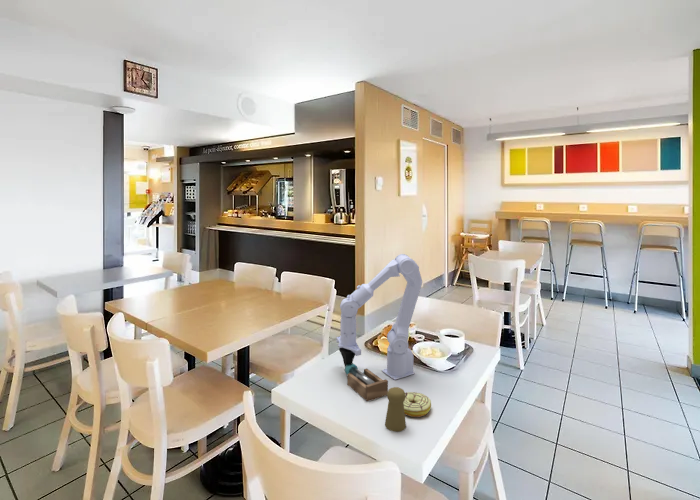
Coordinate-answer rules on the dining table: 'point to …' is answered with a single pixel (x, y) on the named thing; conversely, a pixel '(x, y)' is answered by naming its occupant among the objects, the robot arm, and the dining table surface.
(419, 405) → the decorated donut
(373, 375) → the housing
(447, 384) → the dining table surface
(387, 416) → the olive brown pawn
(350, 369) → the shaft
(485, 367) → the dining table surface
